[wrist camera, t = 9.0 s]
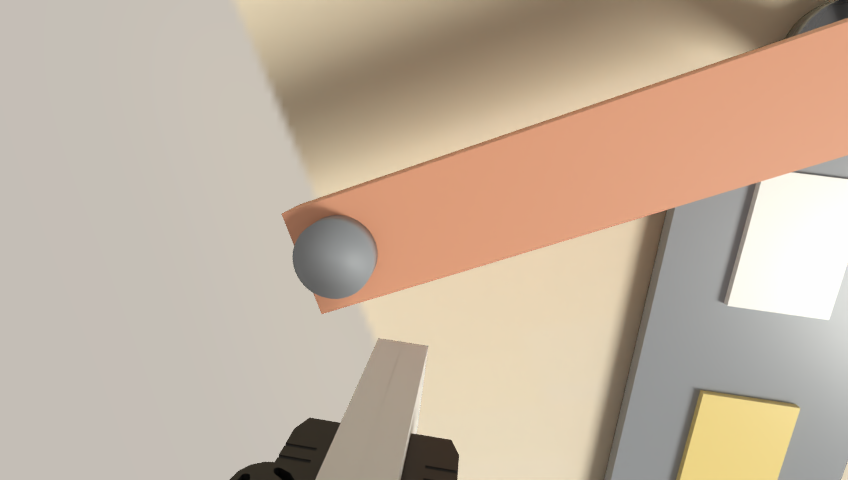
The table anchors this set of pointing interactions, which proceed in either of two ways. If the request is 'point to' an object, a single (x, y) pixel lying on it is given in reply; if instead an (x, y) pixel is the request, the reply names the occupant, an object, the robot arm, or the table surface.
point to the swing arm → (580, 171)
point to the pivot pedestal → (821, 17)
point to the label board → (744, 338)
